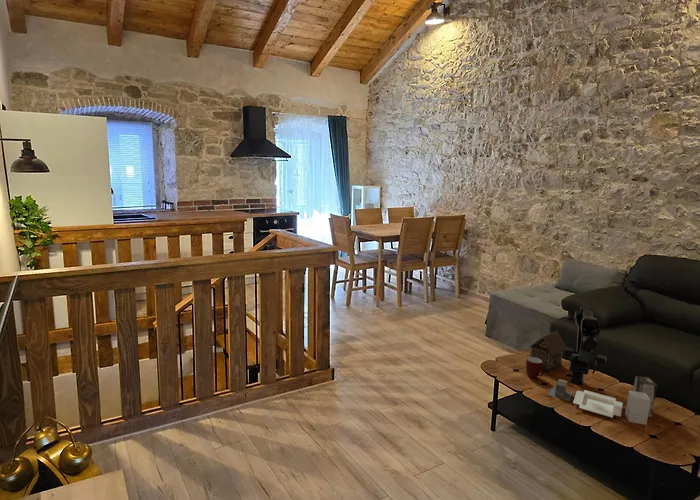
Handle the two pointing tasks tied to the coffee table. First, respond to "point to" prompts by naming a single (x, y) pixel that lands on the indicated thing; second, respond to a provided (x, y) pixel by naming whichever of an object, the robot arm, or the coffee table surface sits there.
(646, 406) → the supplement box
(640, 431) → the coffee table surface
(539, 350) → the model building
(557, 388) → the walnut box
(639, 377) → the coffee box
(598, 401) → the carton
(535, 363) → the mug
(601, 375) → the coffee table surface
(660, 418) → the coffee table surface
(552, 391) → the slate mat
